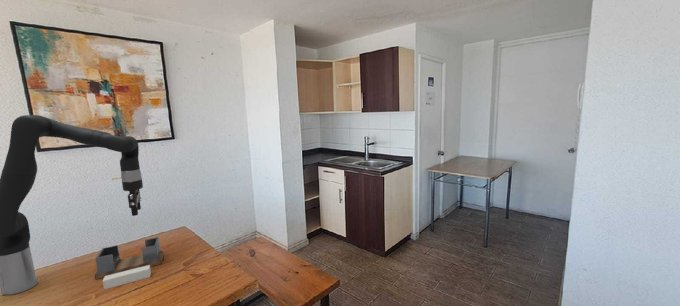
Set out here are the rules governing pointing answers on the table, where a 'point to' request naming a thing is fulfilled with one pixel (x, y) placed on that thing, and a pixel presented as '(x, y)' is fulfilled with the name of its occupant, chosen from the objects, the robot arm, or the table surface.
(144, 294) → the table surface
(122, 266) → the plank
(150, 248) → the grey boxes
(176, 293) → the table surface
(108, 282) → the block
